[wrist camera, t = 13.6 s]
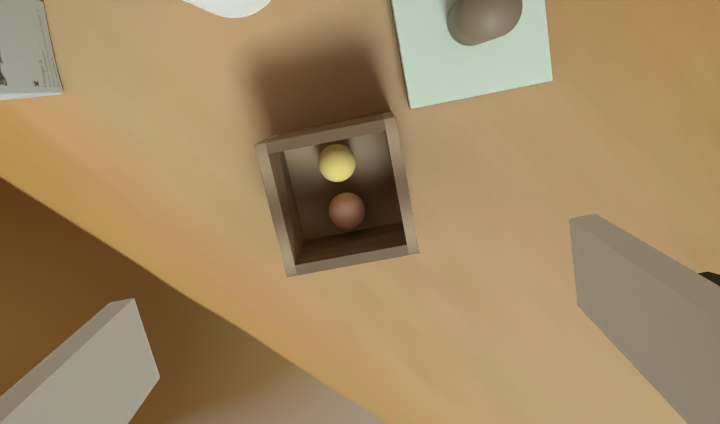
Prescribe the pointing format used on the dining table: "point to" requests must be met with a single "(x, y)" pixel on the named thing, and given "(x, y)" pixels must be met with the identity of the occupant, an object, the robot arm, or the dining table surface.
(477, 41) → the lid
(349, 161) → the ball
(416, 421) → the dining table surface
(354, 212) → the ball
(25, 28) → the supplement box
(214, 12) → the cup
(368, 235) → the box
